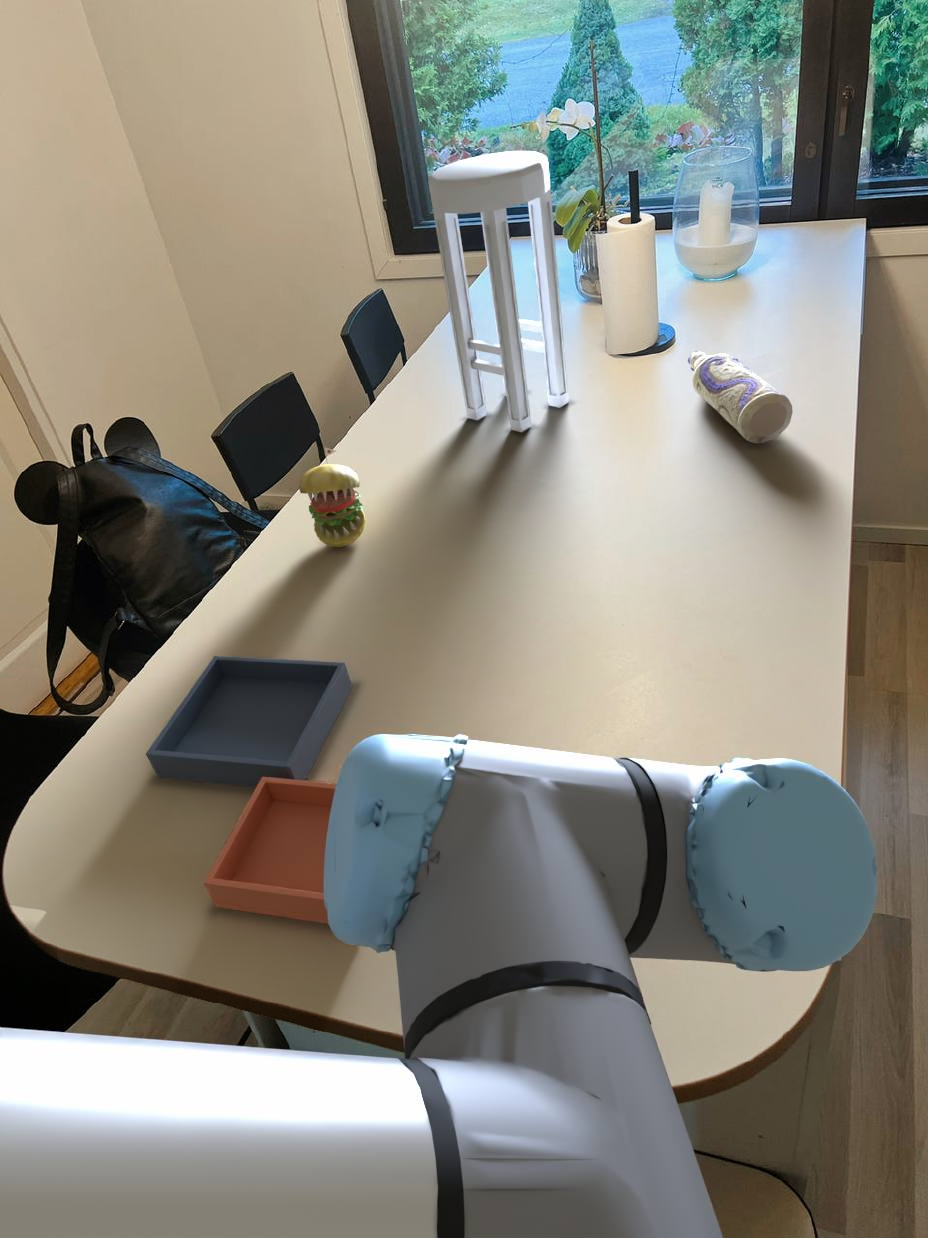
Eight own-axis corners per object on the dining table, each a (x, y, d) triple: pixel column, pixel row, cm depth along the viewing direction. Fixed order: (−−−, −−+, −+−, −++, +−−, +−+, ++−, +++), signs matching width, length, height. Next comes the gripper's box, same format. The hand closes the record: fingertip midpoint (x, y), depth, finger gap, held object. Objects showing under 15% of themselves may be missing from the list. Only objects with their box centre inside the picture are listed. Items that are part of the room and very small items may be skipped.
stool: (513, 382, 145) (483, 149, 124) (587, 398, 135) (569, 149, 114) (449, 420, 137) (405, 178, 116) (523, 441, 128) (490, 181, 107)
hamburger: (309, 554, 112) (283, 471, 105) (321, 524, 118) (297, 444, 110) (367, 549, 111) (345, 465, 104) (377, 519, 116) (356, 437, 109)
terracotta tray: (216, 907, 71) (202, 883, 69) (272, 800, 79) (262, 776, 77) (366, 929, 67) (356, 904, 65) (408, 815, 75) (401, 789, 73)
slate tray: (157, 777, 84) (145, 754, 82) (224, 678, 95) (214, 655, 93) (300, 791, 80) (290, 767, 78) (353, 686, 90) (345, 662, 88)
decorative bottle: (794, 437, 116) (798, 390, 112) (740, 450, 116) (741, 403, 112) (718, 368, 137) (718, 326, 133) (671, 379, 136) (670, 337, 132)
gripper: (483, 1073, 40) (373, 1004, 60) (782, 809, 48) (597, 827, 69) (395, 930, 40) (316, 910, 61) (707, 694, 49) (545, 747, 69)
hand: (465, 866), depth 65 cm, fingers open, 9 cm apart
